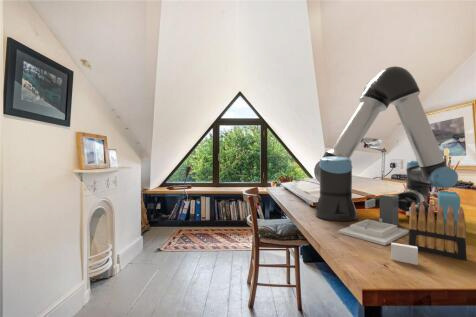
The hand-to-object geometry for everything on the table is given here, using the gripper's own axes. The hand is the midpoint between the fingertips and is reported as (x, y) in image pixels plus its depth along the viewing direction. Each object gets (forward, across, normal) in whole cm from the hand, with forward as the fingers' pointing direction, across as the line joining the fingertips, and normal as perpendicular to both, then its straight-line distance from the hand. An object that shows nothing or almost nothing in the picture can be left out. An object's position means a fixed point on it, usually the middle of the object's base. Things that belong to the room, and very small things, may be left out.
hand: (386, 208), depth 79 cm
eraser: (+27, -14, -6) cm, 31 cm away
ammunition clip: (+16, -17, -6) cm, 24 cm away
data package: (-8, -14, -6) cm, 17 cm away
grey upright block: (-2, 0, -6) cm, 6 cm away
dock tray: (+12, -1, -6) cm, 13 cm away
